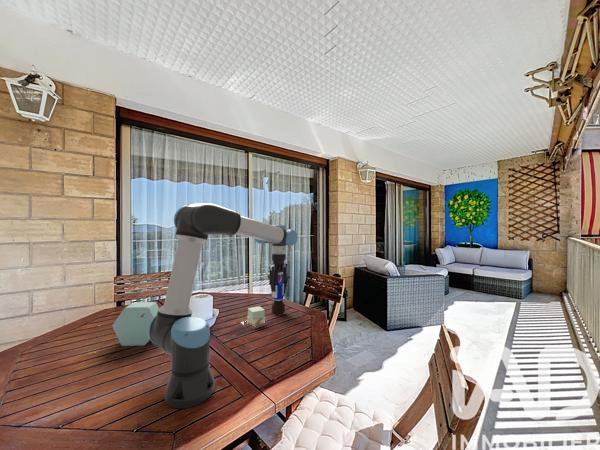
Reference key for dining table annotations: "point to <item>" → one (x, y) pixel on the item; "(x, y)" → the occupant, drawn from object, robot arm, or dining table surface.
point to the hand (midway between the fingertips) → (277, 296)
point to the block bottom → (255, 321)
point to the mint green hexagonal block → (135, 323)
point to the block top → (256, 312)
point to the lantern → (279, 306)
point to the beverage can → (279, 287)
